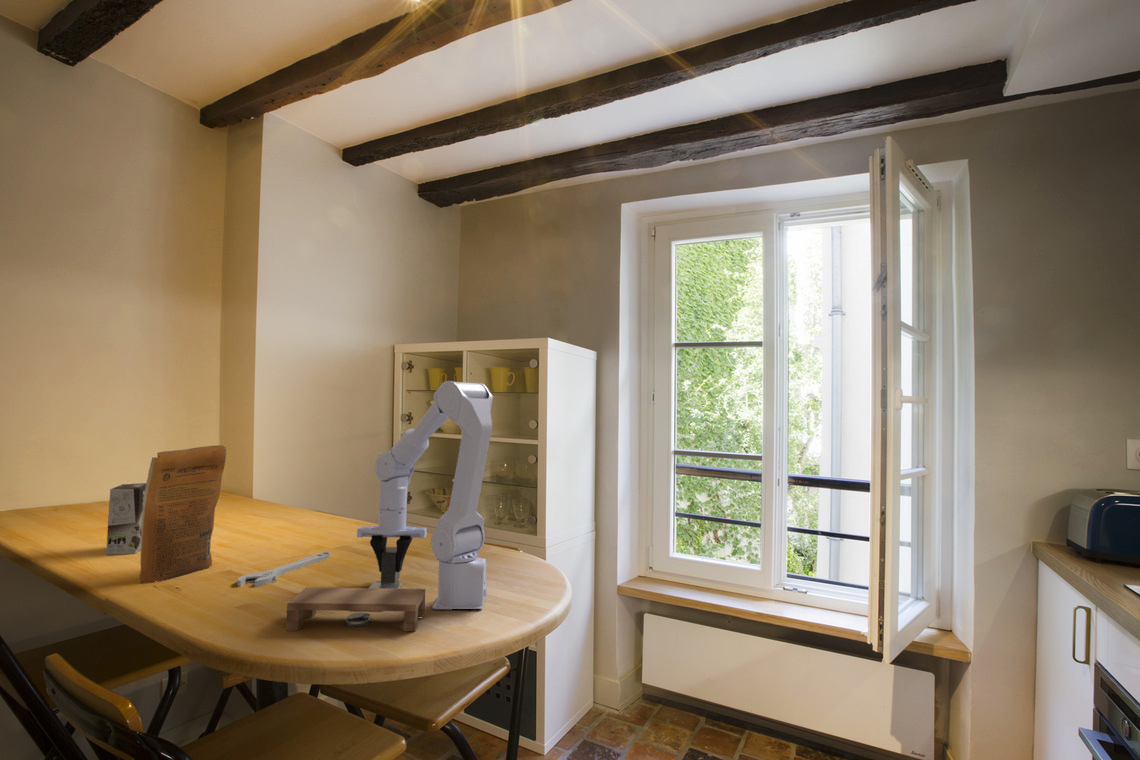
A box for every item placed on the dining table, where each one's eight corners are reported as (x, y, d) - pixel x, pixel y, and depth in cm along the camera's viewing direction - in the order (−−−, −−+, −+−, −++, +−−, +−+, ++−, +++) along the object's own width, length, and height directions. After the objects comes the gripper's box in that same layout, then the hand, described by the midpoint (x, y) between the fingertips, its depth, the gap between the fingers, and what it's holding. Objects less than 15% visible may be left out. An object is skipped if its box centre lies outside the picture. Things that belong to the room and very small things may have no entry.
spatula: (406, 579, 126) (407, 547, 126) (383, 610, 108) (385, 573, 108) (378, 578, 126) (380, 547, 126) (351, 610, 108) (353, 573, 108)
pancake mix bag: (230, 564, 134) (236, 445, 135) (145, 588, 116) (153, 451, 117) (210, 560, 136) (216, 443, 137) (124, 584, 118) (131, 449, 119)
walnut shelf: (424, 614, 107) (425, 589, 107) (415, 631, 99) (416, 604, 99) (305, 612, 106) (306, 587, 106) (285, 630, 98) (287, 602, 98)
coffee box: (137, 553, 140) (140, 487, 140) (104, 555, 137) (108, 488, 138) (148, 544, 148) (152, 482, 149) (118, 546, 146) (122, 483, 146)
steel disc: (373, 619, 104) (373, 612, 104) (364, 628, 100) (364, 621, 100) (352, 618, 104) (352, 612, 104) (342, 627, 100) (342, 620, 100)
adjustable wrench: (323, 557, 143) (324, 550, 143) (343, 561, 141) (343, 554, 141) (231, 586, 120) (232, 577, 120) (253, 591, 118) (254, 582, 118)
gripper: (430, 505, 129) (427, 565, 128) (365, 503, 128) (362, 564, 128) (423, 511, 122) (421, 575, 121) (354, 510, 121) (352, 574, 121)
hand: (390, 570), depth 124 cm, fingers closed on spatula, 3 cm apart
